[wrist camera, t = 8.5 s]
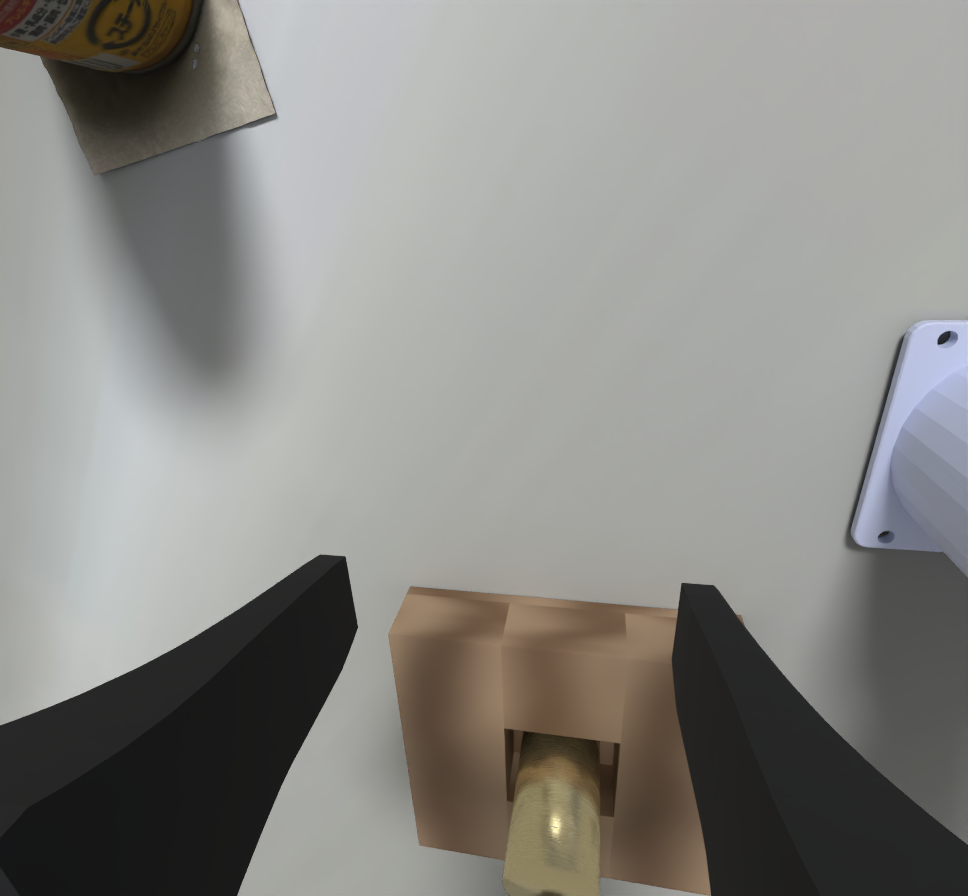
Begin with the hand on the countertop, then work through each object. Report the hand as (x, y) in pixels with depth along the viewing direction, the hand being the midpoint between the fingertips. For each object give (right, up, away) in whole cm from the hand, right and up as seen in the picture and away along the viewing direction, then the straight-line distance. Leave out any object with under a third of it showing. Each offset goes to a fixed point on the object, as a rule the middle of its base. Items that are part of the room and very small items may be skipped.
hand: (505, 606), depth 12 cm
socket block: (+3, -9, +15) cm, 18 cm away
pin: (+3, -9, +14) cm, 18 cm away
